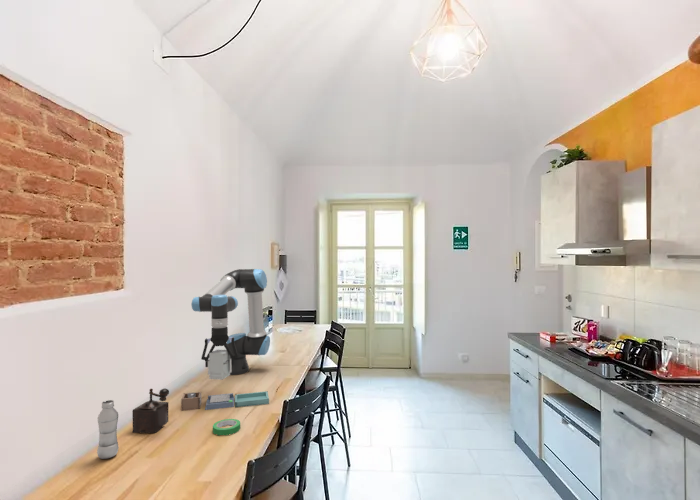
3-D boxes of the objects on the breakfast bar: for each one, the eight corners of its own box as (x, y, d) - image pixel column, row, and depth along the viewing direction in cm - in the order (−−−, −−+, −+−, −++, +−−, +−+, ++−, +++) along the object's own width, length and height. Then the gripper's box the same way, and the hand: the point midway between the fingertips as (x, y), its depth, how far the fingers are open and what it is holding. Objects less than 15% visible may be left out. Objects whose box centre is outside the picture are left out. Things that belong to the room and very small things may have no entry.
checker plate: (211, 398, 195) (211, 396, 195) (230, 396, 198) (230, 394, 198) (209, 404, 187) (209, 402, 187) (229, 402, 189) (229, 400, 189)
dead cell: (188, 405, 190) (188, 392, 190) (196, 404, 191) (196, 392, 191) (187, 408, 187) (187, 395, 187) (195, 407, 187) (195, 394, 188)
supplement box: (223, 379, 188) (222, 353, 188) (208, 379, 189) (208, 352, 189) (230, 375, 195) (230, 349, 195) (216, 374, 196) (216, 349, 197)
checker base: (207, 401, 197) (207, 394, 197) (234, 398, 200) (234, 391, 200) (204, 411, 184) (204, 403, 184) (233, 408, 188) (233, 400, 188)
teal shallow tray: (235, 399, 199) (235, 394, 199) (267, 396, 204) (267, 391, 204) (235, 407, 189) (234, 402, 189) (268, 403, 193) (268, 398, 193)
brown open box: (183, 405, 192) (183, 393, 192) (201, 404, 194) (201, 391, 194) (181, 412, 184) (181, 399, 184) (199, 410, 186) (199, 397, 186)
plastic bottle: (103, 452, 147) (102, 399, 147) (122, 451, 147) (121, 398, 147) (93, 462, 140) (93, 405, 140) (113, 460, 141) (112, 404, 141)
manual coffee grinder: (130, 433, 163) (130, 389, 163) (146, 422, 174) (146, 381, 174) (165, 434, 161) (165, 390, 161) (180, 423, 172) (180, 382, 172)
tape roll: (218, 424, 171) (218, 418, 171) (243, 424, 171) (243, 418, 171) (208, 436, 160) (208, 429, 160) (235, 436, 160) (235, 429, 160)
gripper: (194, 329, 186) (194, 377, 186) (243, 326, 192) (243, 372, 192) (196, 326, 193) (196, 372, 193) (242, 324, 199) (243, 368, 199)
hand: (219, 372), depth 192 cm, fingers closed on supplement box, 9 cm apart
